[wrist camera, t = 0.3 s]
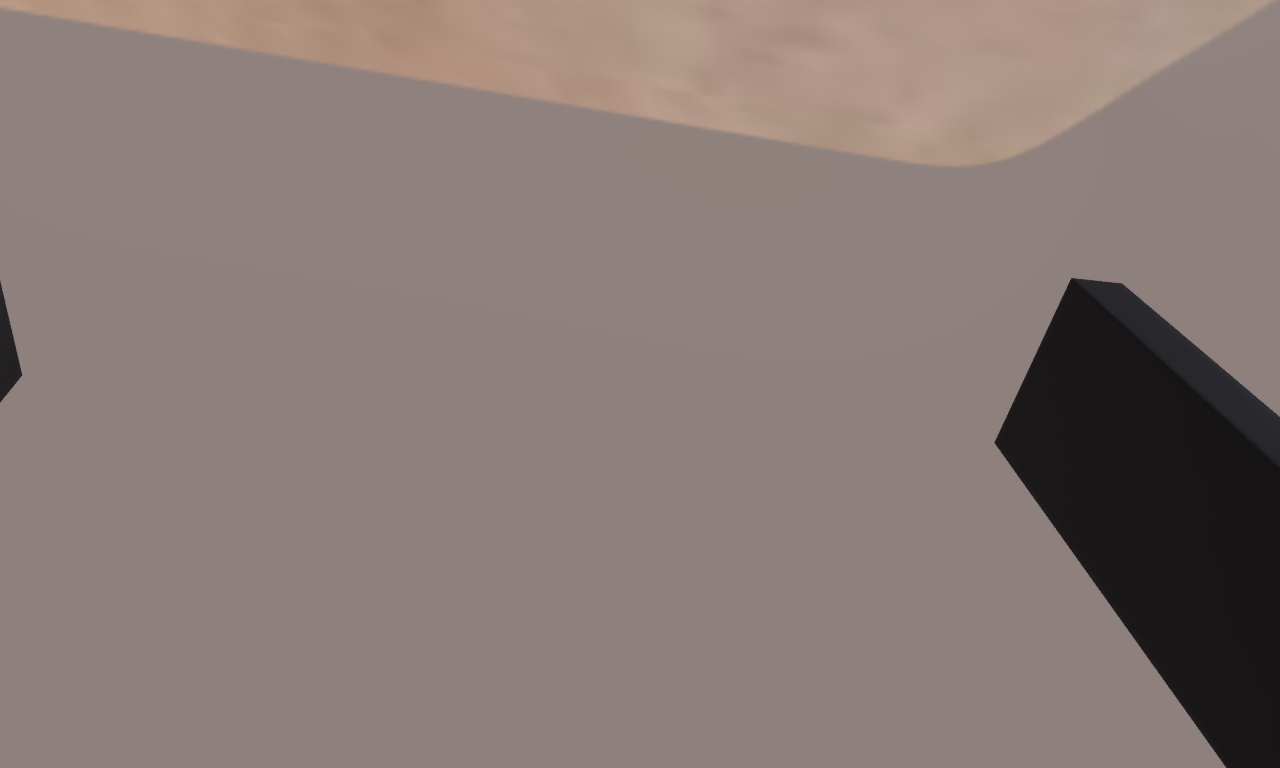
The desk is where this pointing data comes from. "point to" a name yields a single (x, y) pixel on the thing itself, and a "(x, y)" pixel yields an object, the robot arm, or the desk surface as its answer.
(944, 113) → the desk surface
